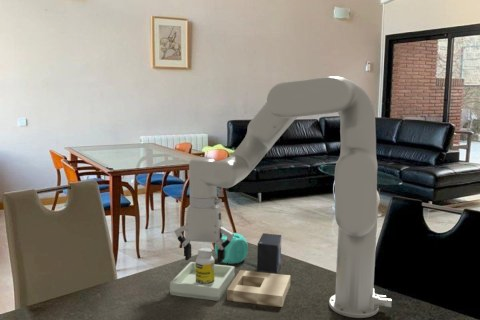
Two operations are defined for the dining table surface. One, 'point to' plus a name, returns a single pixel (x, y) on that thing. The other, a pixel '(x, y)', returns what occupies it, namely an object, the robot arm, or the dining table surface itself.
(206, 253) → the supplement bottle
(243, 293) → the beige flat square frame
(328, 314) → the dining table surface
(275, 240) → the small box
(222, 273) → the tray
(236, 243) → the decorative dice
